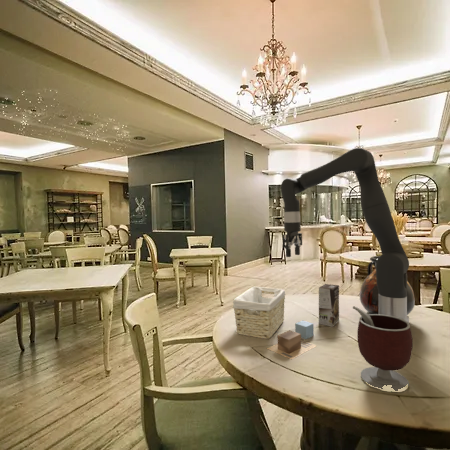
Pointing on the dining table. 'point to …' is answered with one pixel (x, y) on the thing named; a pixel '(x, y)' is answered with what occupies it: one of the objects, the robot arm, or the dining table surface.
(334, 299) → the coffee box
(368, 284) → the amphora vase
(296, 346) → the walnut block
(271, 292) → the storage basket
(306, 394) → the dining table surface
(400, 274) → the robot arm
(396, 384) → the mate gourd
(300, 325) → the slate cube
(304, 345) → the letter
